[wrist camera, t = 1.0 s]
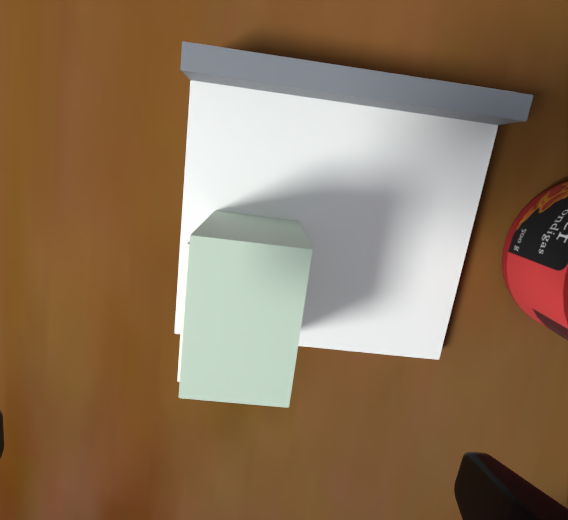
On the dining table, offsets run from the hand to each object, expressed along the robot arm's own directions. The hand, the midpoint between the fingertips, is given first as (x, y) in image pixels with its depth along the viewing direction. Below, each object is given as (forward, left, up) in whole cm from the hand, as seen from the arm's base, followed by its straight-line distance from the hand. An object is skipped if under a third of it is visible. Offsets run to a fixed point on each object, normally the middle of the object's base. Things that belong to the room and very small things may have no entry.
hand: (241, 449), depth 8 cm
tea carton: (0, 0, -12) cm, 12 cm away
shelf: (+3, -3, -13) cm, 14 cm away
